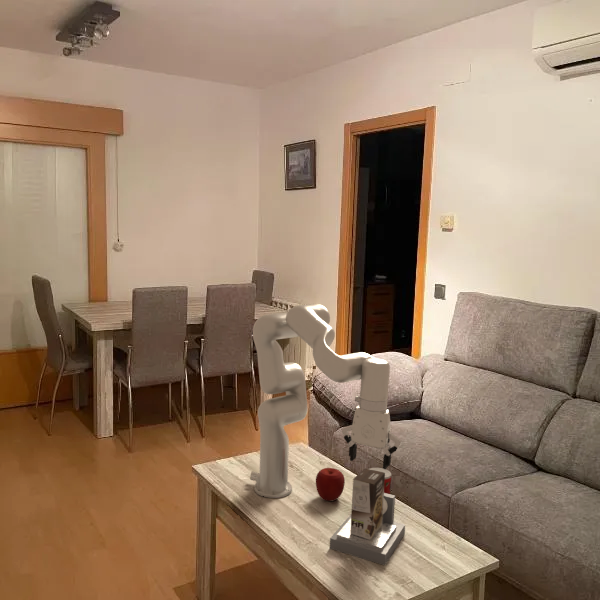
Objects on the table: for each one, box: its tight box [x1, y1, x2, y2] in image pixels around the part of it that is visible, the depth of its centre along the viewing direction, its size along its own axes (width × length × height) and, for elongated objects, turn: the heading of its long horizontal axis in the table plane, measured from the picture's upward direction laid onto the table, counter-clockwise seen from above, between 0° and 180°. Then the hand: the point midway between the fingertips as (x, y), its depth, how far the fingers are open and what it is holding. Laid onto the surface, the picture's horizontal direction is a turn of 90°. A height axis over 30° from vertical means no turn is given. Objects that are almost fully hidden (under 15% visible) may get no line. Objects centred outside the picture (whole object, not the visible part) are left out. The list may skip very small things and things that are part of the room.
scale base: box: [329, 493, 406, 566], centre depth 163 cm, size 16×18×11 cm
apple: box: [315, 467, 346, 502], centre depth 188 cm, size 10×10×10 cm
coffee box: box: [350, 468, 385, 540], centre depth 161 cm, size 9×6×16 cm
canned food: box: [369, 467, 392, 494], centre depth 185 cm, size 8×8×11 cm
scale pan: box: [337, 519, 396, 551], centre depth 162 cm, size 13×13×1 cm
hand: (369, 463), depth 160 cm, fingers open, 9 cm apart
